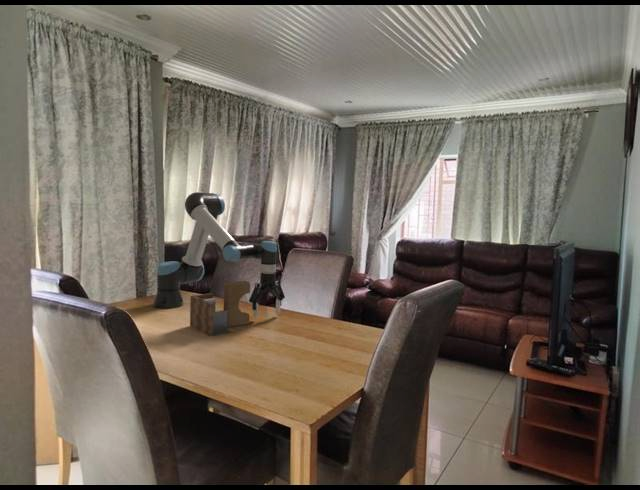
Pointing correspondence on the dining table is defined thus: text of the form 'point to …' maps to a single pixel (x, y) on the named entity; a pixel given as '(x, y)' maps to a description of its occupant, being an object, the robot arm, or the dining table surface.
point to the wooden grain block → (201, 313)
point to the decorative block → (235, 302)
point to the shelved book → (211, 302)
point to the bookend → (220, 323)
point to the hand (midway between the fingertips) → (266, 314)
